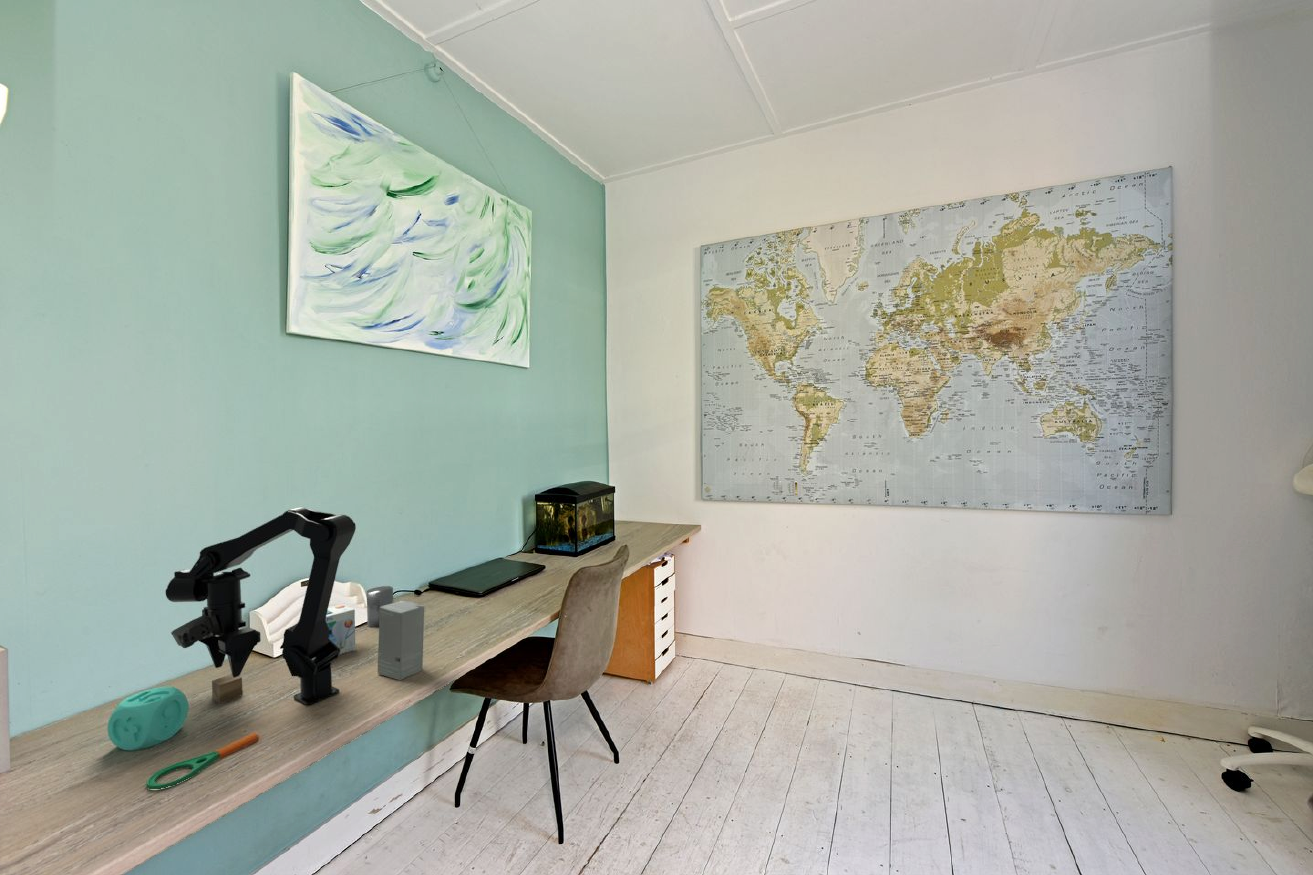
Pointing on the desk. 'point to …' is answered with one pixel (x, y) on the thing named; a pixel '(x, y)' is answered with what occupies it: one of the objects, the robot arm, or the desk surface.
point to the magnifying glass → (199, 762)
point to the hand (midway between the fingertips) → (227, 671)
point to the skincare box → (400, 639)
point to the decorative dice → (148, 718)
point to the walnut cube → (226, 688)
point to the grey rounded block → (377, 603)
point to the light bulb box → (341, 627)
